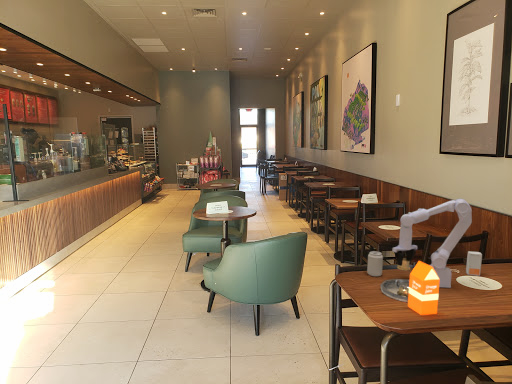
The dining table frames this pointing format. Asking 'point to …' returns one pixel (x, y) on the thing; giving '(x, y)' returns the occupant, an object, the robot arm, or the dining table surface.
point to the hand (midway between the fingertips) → (404, 264)
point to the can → (375, 263)
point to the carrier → (396, 289)
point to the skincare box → (473, 263)
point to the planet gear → (404, 265)
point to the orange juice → (423, 289)
